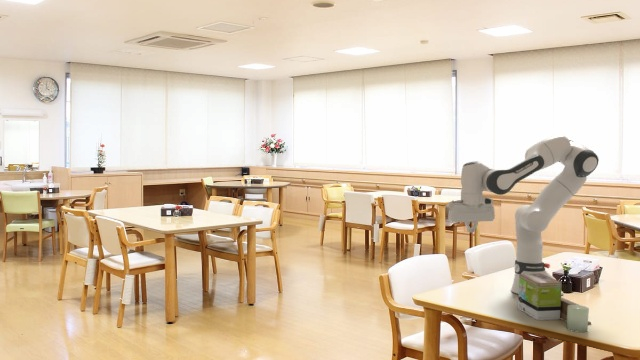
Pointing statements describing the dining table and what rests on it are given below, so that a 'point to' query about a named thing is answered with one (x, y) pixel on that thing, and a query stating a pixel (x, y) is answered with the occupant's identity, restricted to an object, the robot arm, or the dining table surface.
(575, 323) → the mint green canister
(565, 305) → the walnut rail
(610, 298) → the dining table surface
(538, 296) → the tea box
